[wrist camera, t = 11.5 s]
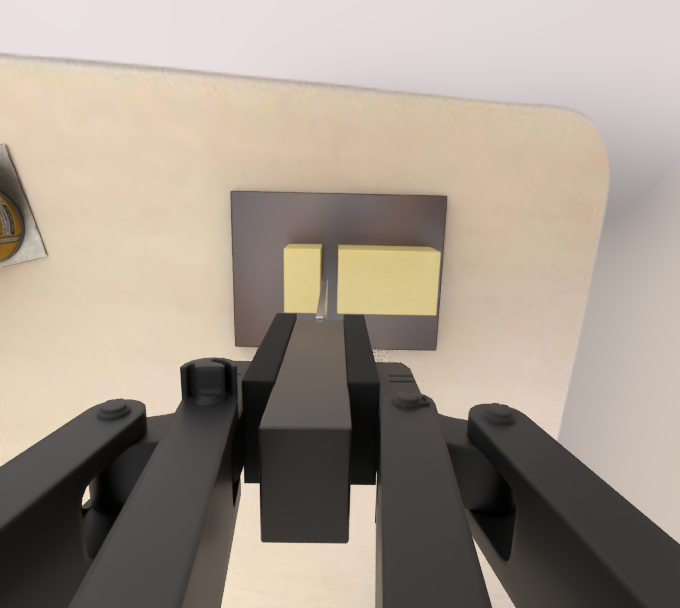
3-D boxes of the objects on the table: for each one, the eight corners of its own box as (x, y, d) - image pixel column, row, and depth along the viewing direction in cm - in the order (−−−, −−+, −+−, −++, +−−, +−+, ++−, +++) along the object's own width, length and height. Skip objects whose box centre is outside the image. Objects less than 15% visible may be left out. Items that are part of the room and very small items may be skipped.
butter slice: (322, 244, 34) (320, 249, 31) (321, 302, 35) (319, 313, 32) (289, 243, 34) (283, 248, 31) (289, 301, 35) (284, 312, 32)
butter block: (430, 246, 34) (441, 251, 31) (426, 304, 35) (436, 315, 32) (338, 244, 34) (338, 249, 31) (336, 302, 35) (336, 313, 32)
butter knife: (341, 279, 24) (352, 423, 9) (340, 329, 25) (348, 549, 9) (308, 278, 24) (257, 422, 9) (307, 329, 25) (260, 548, 9)
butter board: (444, 196, 34) (447, 195, 33) (433, 346, 37) (436, 350, 36) (233, 191, 34) (230, 190, 33) (237, 342, 37) (234, 346, 36)
